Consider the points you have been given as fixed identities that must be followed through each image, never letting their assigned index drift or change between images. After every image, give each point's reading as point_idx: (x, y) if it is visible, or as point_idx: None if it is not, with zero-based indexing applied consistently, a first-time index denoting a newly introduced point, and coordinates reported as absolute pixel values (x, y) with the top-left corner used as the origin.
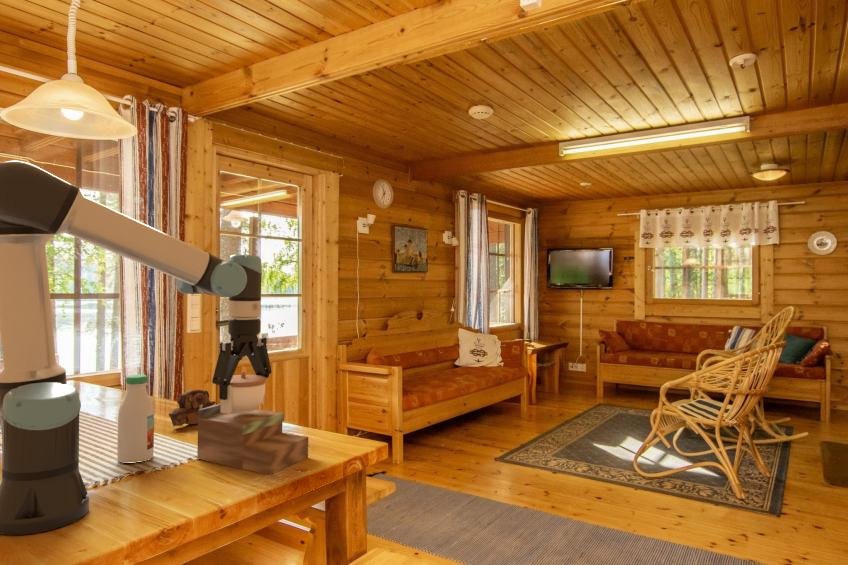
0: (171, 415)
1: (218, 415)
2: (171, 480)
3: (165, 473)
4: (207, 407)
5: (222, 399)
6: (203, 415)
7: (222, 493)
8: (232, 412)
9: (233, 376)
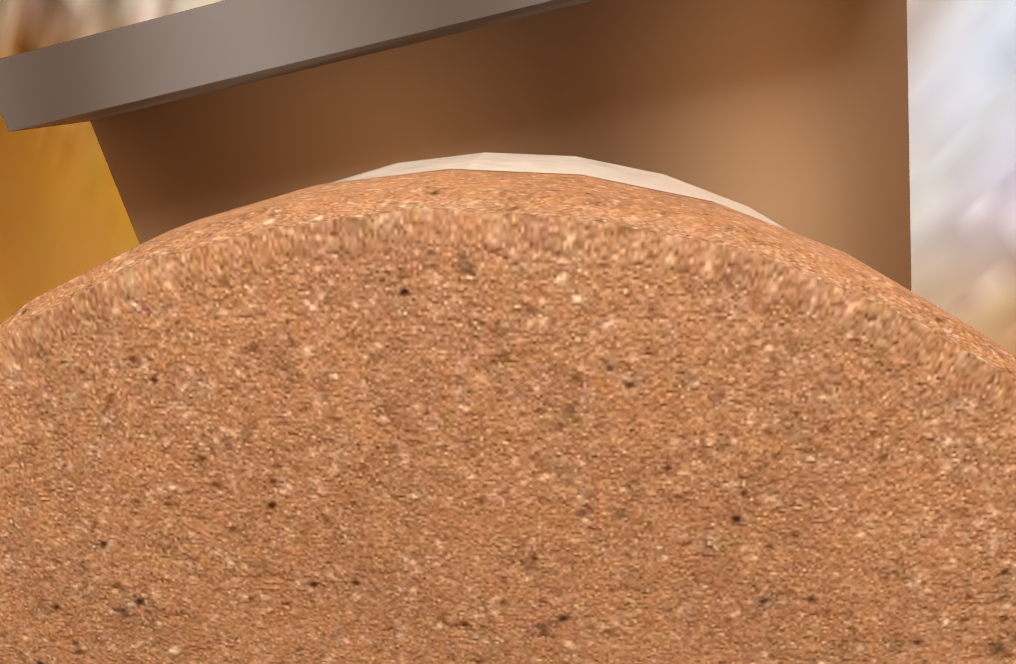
0: None
1: (325, 153)
2: (8, 308)
3: (10, 168)
4: (142, 47)
5: None
6: (106, 115)
7: None
8: (549, 147)
9: (371, 555)
